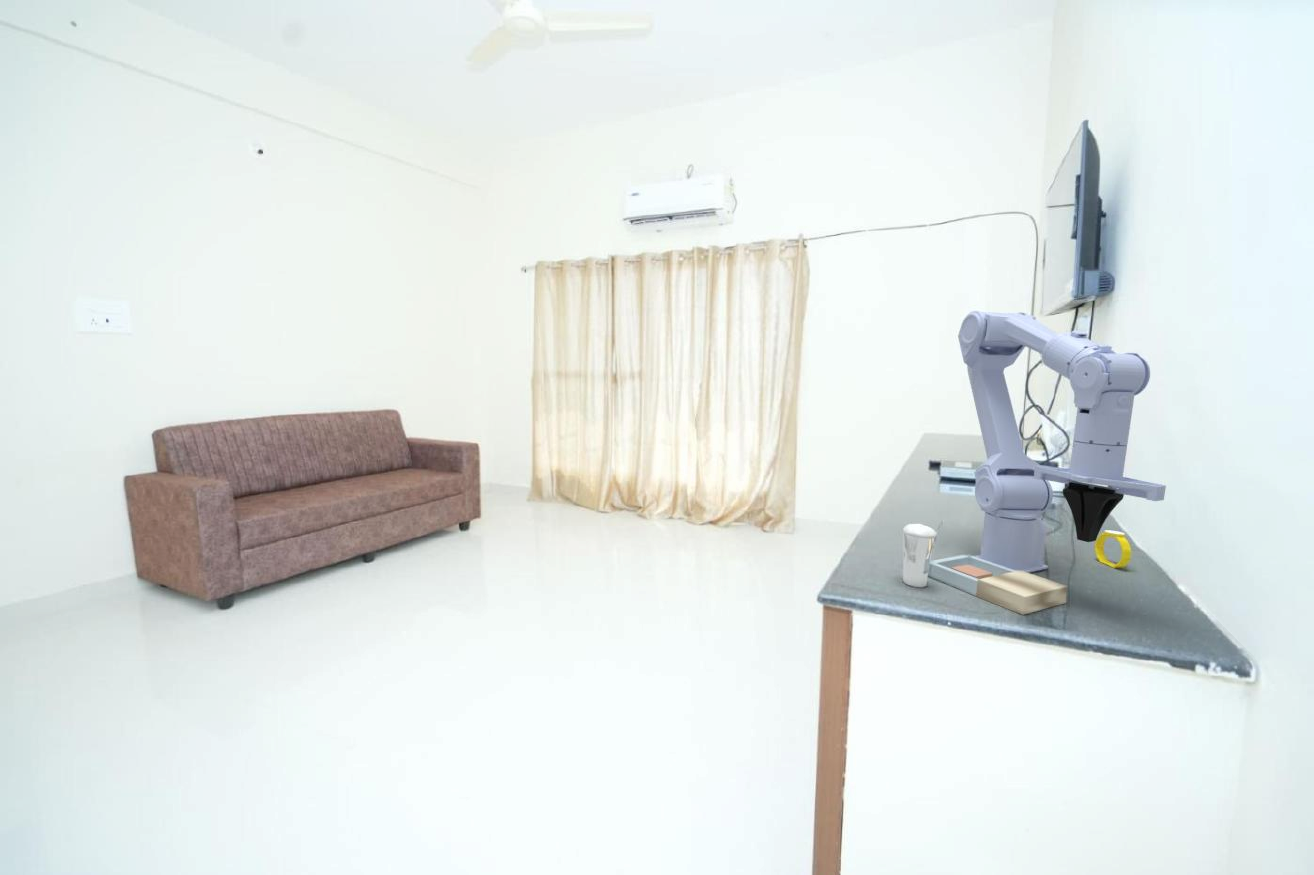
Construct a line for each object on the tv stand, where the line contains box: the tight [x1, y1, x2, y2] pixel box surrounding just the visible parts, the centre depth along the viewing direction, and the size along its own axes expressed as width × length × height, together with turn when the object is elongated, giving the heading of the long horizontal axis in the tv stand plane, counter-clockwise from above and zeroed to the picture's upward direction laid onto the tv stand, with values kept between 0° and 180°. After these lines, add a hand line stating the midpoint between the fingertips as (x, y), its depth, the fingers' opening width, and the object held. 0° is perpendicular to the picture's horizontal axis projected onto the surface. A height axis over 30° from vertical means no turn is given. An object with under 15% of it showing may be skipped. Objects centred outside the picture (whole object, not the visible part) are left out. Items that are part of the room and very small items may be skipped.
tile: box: [951, 564, 993, 579], centre depth 84 cm, size 4×4×2 cm
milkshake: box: [902, 520, 944, 588], centre depth 82 cm, size 5×5×10 cm
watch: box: [1094, 529, 1132, 569], centre depth 93 cm, size 6×3×6 cm, turn 0°
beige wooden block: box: [975, 570, 1069, 616], centre depth 78 cm, size 10×6×2 cm, turn 116°
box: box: [928, 554, 1015, 597], centre depth 84 cm, size 10×8×2 cm
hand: (1086, 540), depth 75 cm, fingers closed
